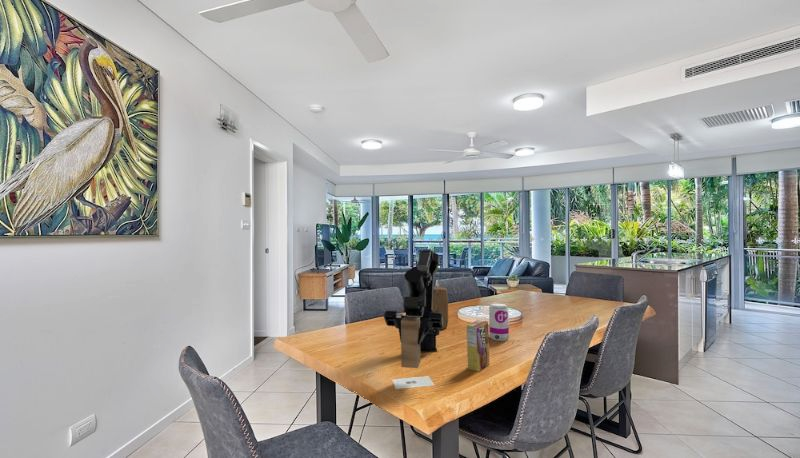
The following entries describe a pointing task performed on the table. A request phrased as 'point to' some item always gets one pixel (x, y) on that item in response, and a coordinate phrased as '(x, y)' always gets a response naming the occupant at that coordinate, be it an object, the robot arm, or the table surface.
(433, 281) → the robot arm
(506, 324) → the supplement can
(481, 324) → the candy box
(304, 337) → the table surface
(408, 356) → the walnut block
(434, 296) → the block
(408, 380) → the tile
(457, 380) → the table surface
